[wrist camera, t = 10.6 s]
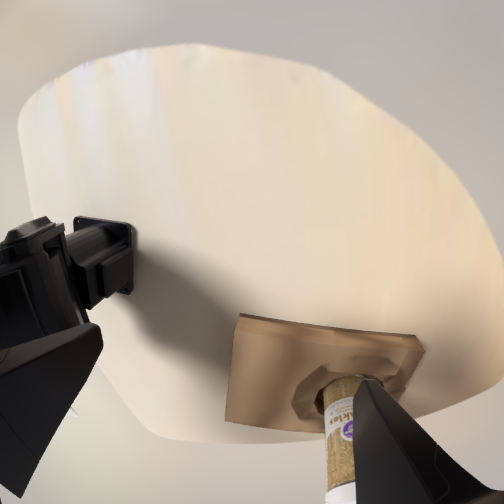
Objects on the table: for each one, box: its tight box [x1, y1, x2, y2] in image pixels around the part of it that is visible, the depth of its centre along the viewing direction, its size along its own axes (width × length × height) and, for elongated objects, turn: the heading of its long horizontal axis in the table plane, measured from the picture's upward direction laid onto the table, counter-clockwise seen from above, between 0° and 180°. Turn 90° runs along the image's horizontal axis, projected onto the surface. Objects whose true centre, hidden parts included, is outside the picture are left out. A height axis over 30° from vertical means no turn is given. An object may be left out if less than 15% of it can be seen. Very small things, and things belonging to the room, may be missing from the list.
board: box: [225, 313, 424, 433], centre depth 22 cm, size 16×12×2 cm
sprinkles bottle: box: [322, 373, 367, 504], centre depth 17 cm, size 5×5×14 cm
